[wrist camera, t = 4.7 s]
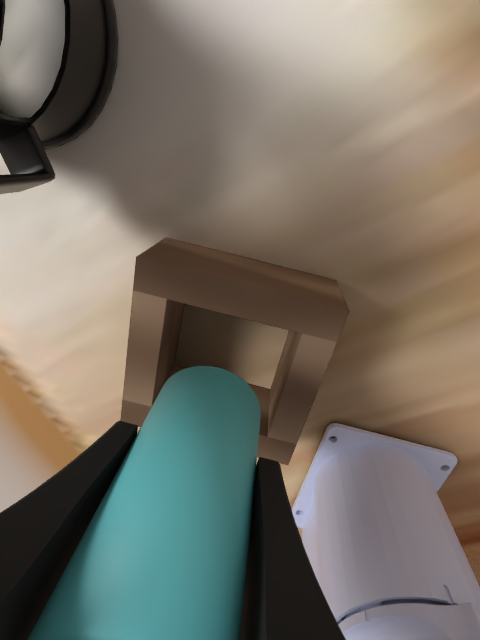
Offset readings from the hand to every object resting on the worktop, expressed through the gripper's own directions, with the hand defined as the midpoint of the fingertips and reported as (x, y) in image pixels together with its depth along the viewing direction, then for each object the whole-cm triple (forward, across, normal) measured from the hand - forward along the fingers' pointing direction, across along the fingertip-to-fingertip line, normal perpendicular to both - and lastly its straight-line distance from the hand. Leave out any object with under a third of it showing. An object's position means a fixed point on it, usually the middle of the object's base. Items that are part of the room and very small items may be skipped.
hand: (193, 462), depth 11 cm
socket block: (+9, 0, 0) cm, 9 cm away
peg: (+2, 0, 0) cm, 2 cm away
